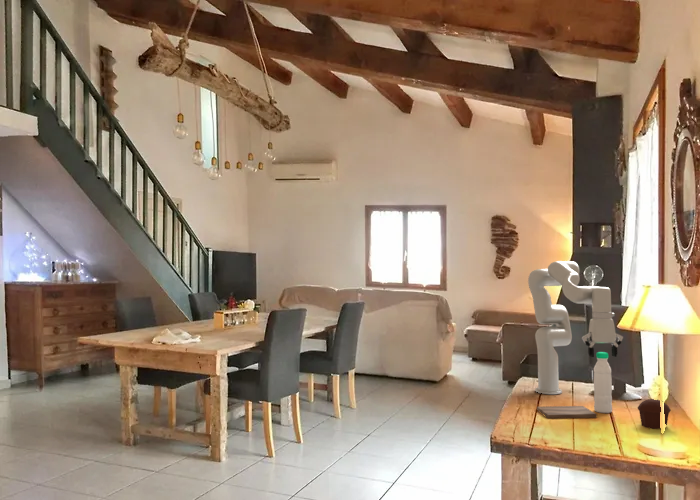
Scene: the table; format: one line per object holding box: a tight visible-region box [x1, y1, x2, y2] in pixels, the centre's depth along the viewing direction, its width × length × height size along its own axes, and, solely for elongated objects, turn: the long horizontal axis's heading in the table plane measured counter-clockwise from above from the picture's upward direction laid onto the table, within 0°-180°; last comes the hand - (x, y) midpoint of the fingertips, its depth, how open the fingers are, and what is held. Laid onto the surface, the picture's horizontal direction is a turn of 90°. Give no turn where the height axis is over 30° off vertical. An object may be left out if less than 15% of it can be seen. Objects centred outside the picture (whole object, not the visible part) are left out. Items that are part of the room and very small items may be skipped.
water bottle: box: [593, 351, 613, 414], centre depth 261 cm, size 7×7×25 cm
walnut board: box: [536, 405, 598, 419], centre depth 257 cm, size 14×20×2 cm
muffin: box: [637, 398, 672, 430], centre depth 238 cm, size 12×11×10 cm
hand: (602, 356), depth 260 cm, fingers open, 9 cm apart
